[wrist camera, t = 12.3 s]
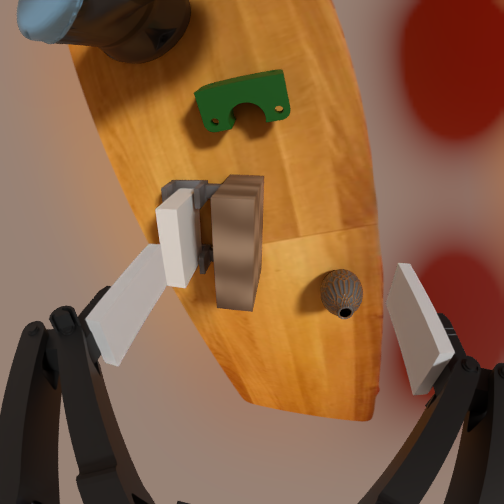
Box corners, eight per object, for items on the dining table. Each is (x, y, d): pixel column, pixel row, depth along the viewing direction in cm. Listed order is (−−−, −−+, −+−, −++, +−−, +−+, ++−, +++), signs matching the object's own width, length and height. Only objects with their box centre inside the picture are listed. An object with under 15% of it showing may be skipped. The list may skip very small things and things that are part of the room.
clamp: (231, 112, 42) (196, 135, 37) (221, 78, 38) (183, 95, 33) (304, 108, 36) (278, 130, 31) (296, 67, 32) (267, 80, 27)
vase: (346, 255, 46) (355, 286, 39) (365, 284, 48) (375, 317, 41) (311, 275, 49) (313, 309, 41) (332, 302, 51) (336, 336, 43)
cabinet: (172, 173, 43) (139, 196, 34) (264, 175, 42) (254, 199, 32) (180, 262, 51) (157, 299, 42) (261, 269, 50) (252, 311, 40)
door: (176, 188, 44) (152, 208, 36) (198, 188, 43) (176, 209, 36) (183, 255, 50) (163, 285, 42) (202, 257, 49) (185, 288, 42)
